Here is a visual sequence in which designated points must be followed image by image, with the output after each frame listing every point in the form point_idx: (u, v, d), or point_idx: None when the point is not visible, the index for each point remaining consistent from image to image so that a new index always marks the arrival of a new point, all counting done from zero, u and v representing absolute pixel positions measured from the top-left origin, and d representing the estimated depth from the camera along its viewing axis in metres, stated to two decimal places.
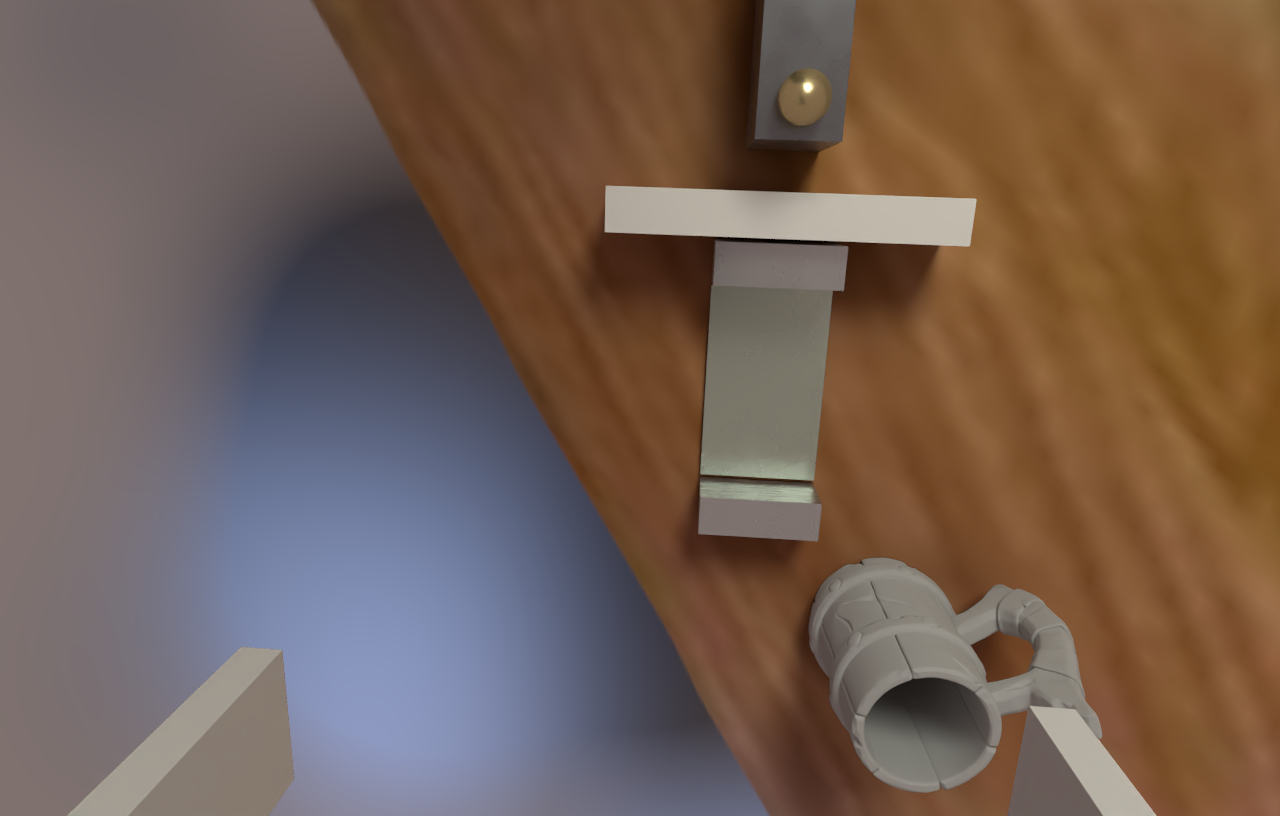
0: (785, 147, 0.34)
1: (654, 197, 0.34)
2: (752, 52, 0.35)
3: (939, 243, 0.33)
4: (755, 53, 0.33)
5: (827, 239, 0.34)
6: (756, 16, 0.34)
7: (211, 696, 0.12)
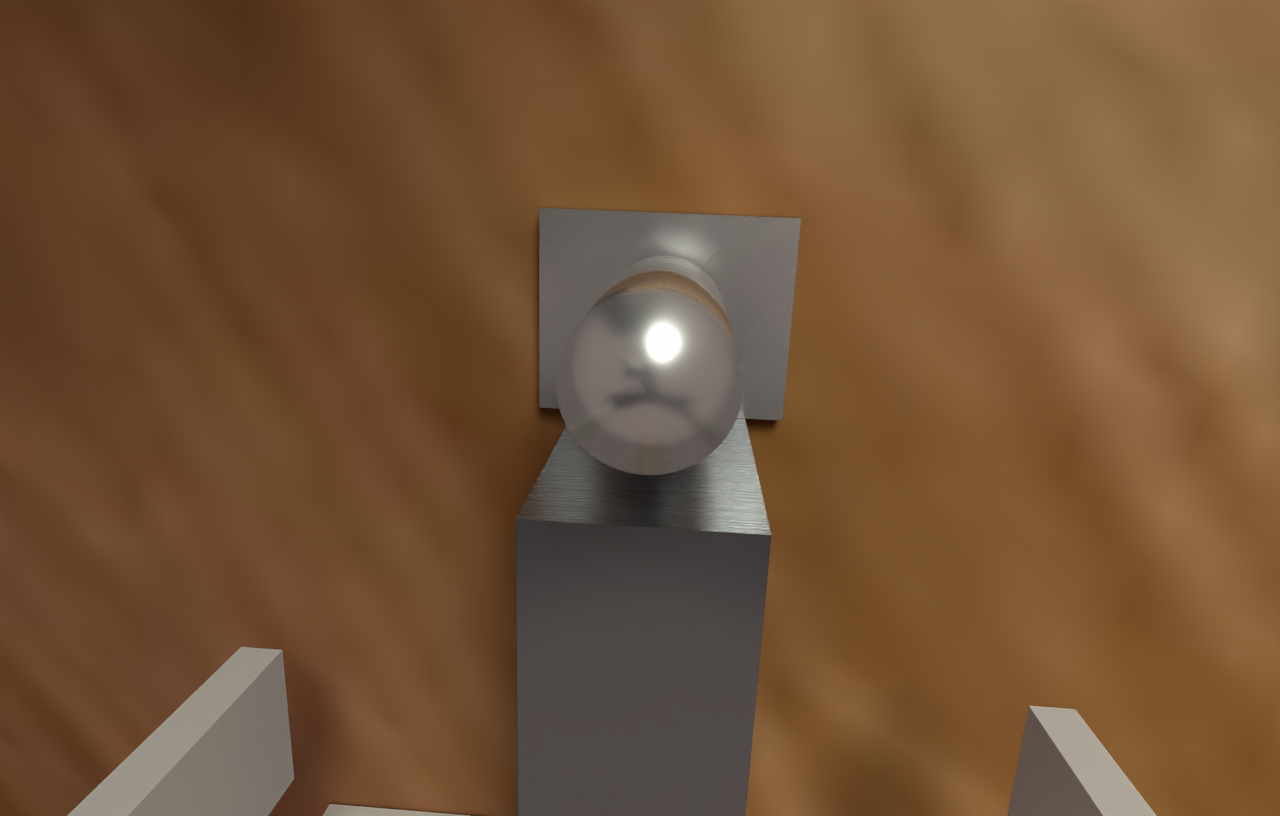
0: None
1: None
2: None
3: None
4: None
5: None
6: None
7: (212, 696, 0.12)
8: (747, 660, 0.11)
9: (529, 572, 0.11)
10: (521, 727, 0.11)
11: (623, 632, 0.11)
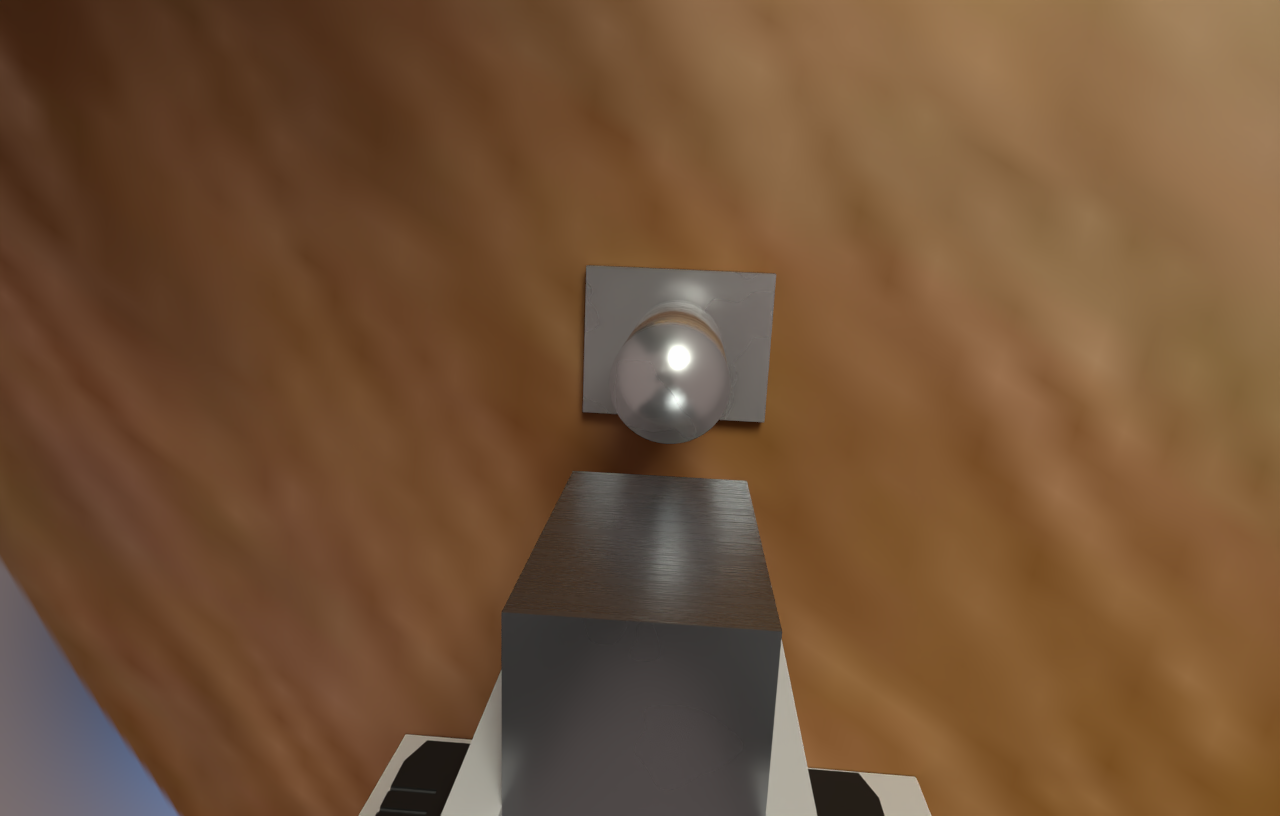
0: None
1: None
2: None
3: None
4: None
5: None
6: None
7: None
8: (756, 769, 0.10)
9: (516, 670, 0.10)
10: None
11: (619, 737, 0.10)
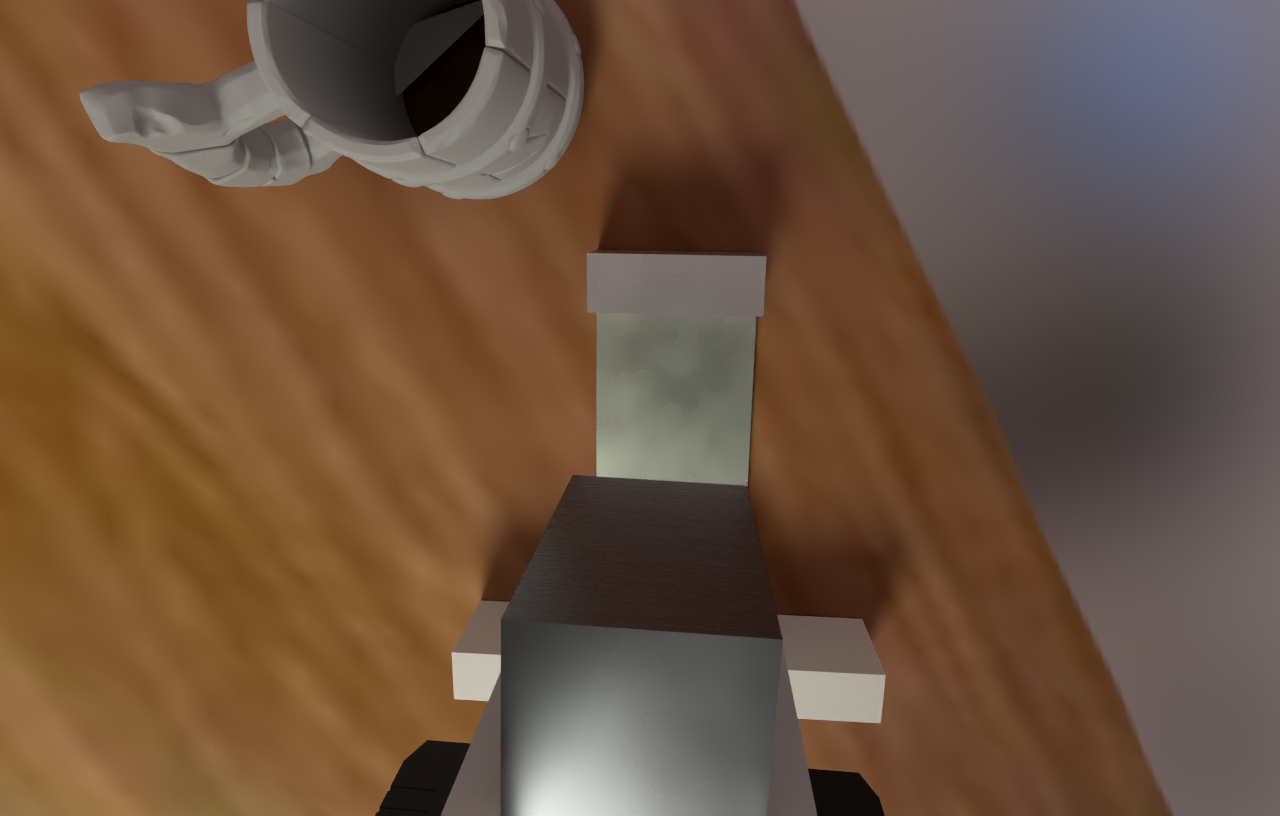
0: None
1: (822, 709, 0.28)
2: None
3: (485, 655, 0.28)
4: None
5: None
6: None
7: None
8: (756, 778, 0.10)
9: (515, 678, 0.10)
10: None
11: (619, 746, 0.10)
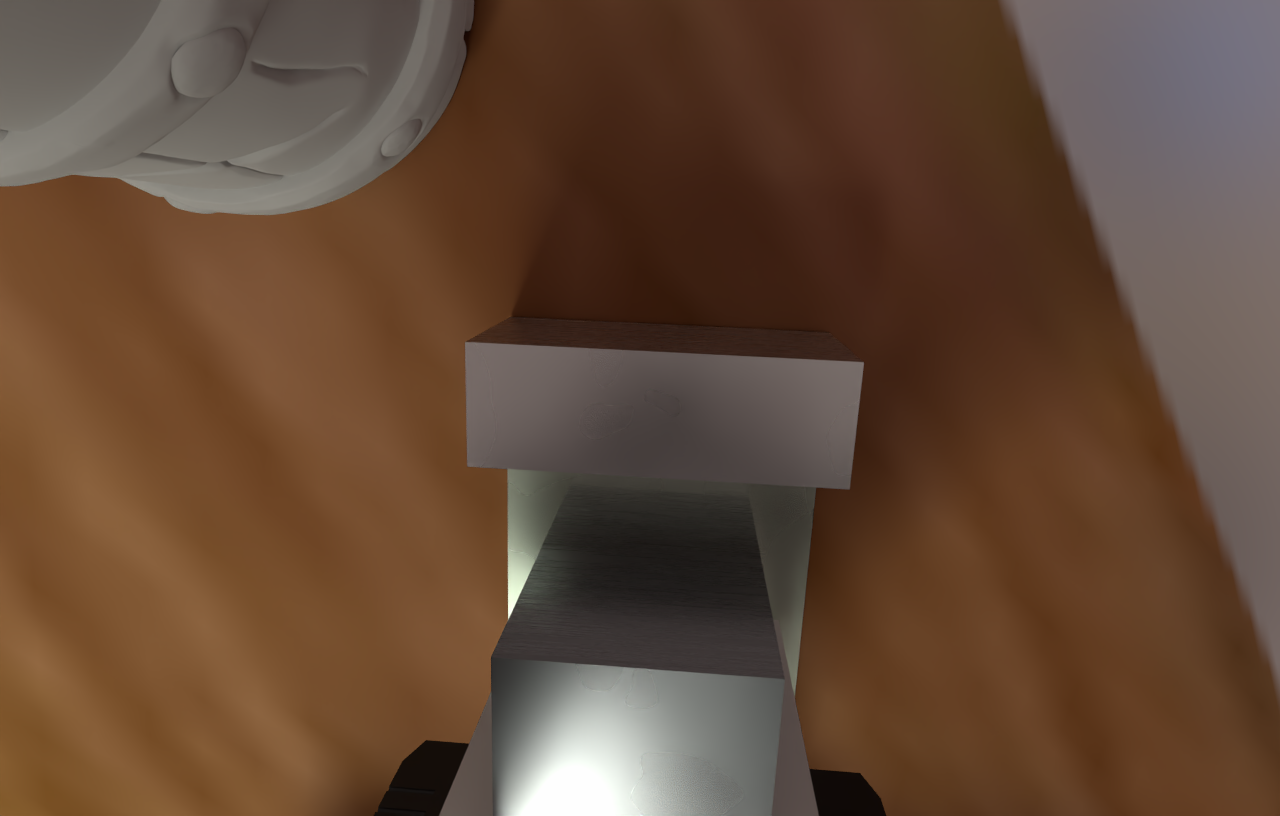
0: None
1: None
2: None
3: None
4: None
5: None
6: None
7: None
8: None
9: (507, 716, 0.09)
10: None
11: (614, 784, 0.09)
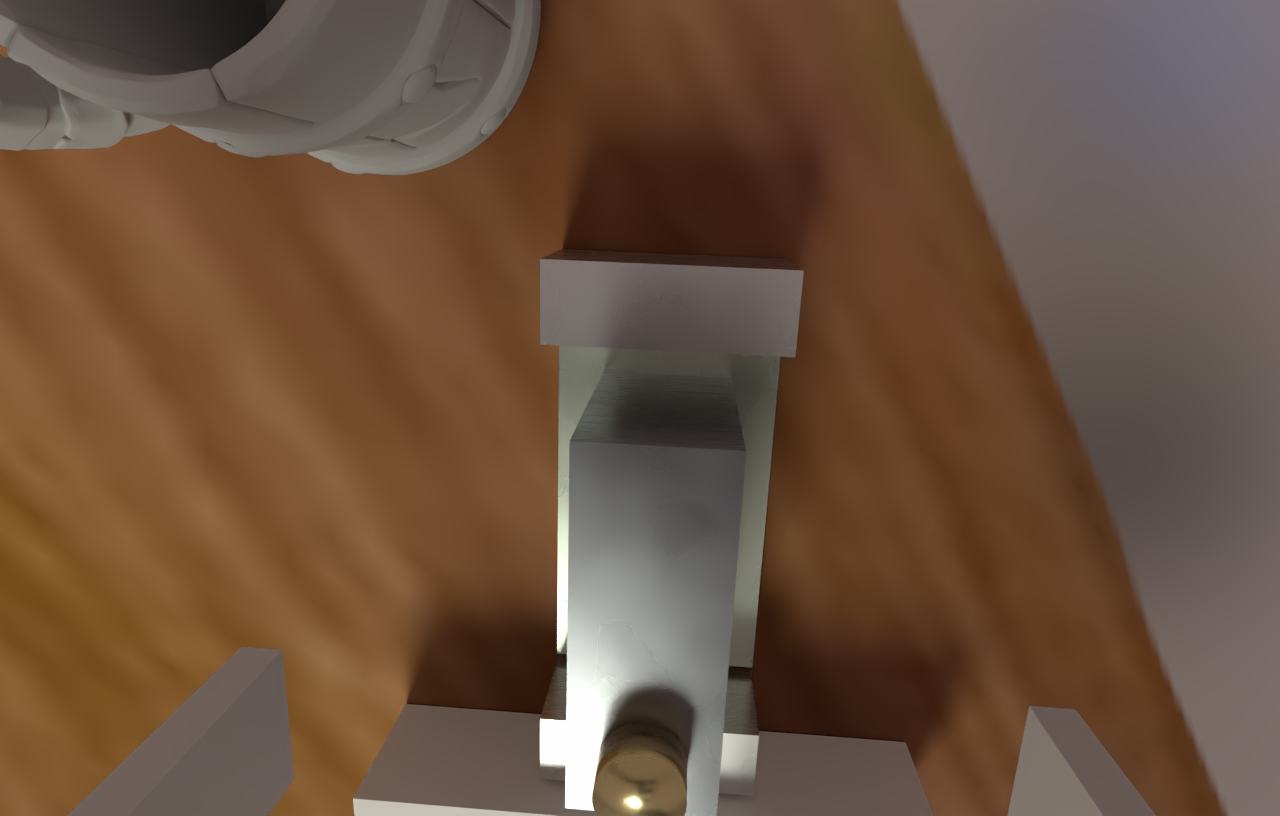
0: None
1: None
2: None
3: (399, 804, 0.21)
4: None
5: None
6: None
7: (211, 696, 0.12)
8: (730, 541, 0.15)
9: (578, 479, 0.15)
10: (570, 593, 0.16)
11: (643, 522, 0.16)
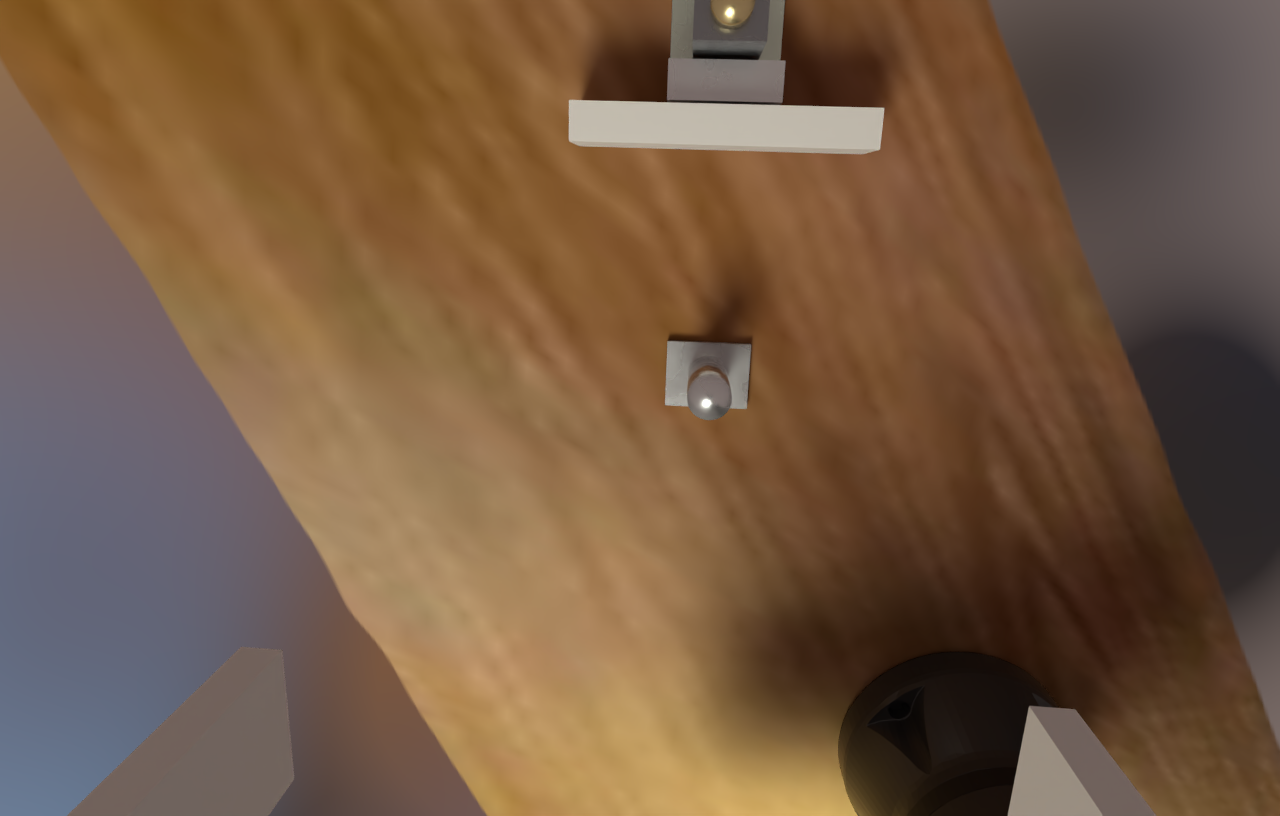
0: (724, 55, 0.40)
1: (838, 139, 0.39)
2: None
3: (594, 102, 0.39)
4: None
5: (688, 104, 0.39)
6: None
7: (210, 696, 0.12)
8: None
9: None
10: None
11: None
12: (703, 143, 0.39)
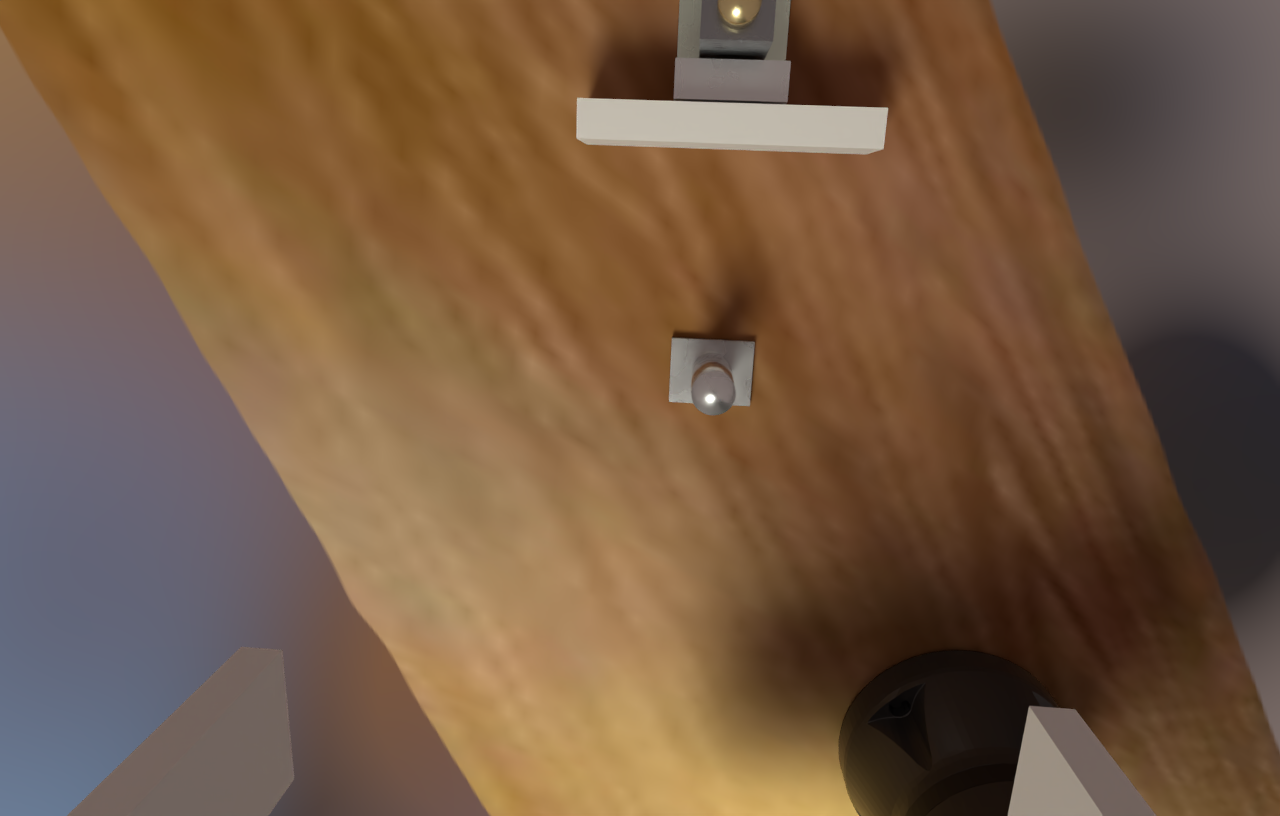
0: (731, 55, 0.40)
1: (842, 138, 0.39)
2: None
3: (601, 100, 0.40)
4: None
5: (694, 102, 0.39)
6: None
7: (211, 696, 0.12)
8: None
9: None
10: None
11: None
12: (709, 141, 0.40)
